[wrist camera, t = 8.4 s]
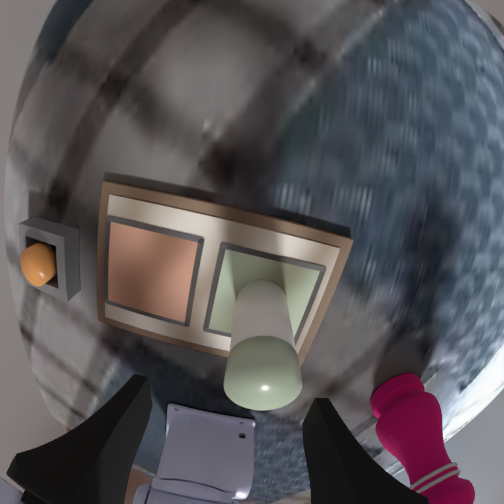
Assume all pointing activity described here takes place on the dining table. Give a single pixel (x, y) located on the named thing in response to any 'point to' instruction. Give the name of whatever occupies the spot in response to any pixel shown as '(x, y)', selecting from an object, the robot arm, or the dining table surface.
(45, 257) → the button
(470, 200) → the dining table surface
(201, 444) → the robot arm
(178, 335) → the picture board
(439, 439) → the pepper mill
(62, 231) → the button housing
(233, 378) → the white and green cylinder
